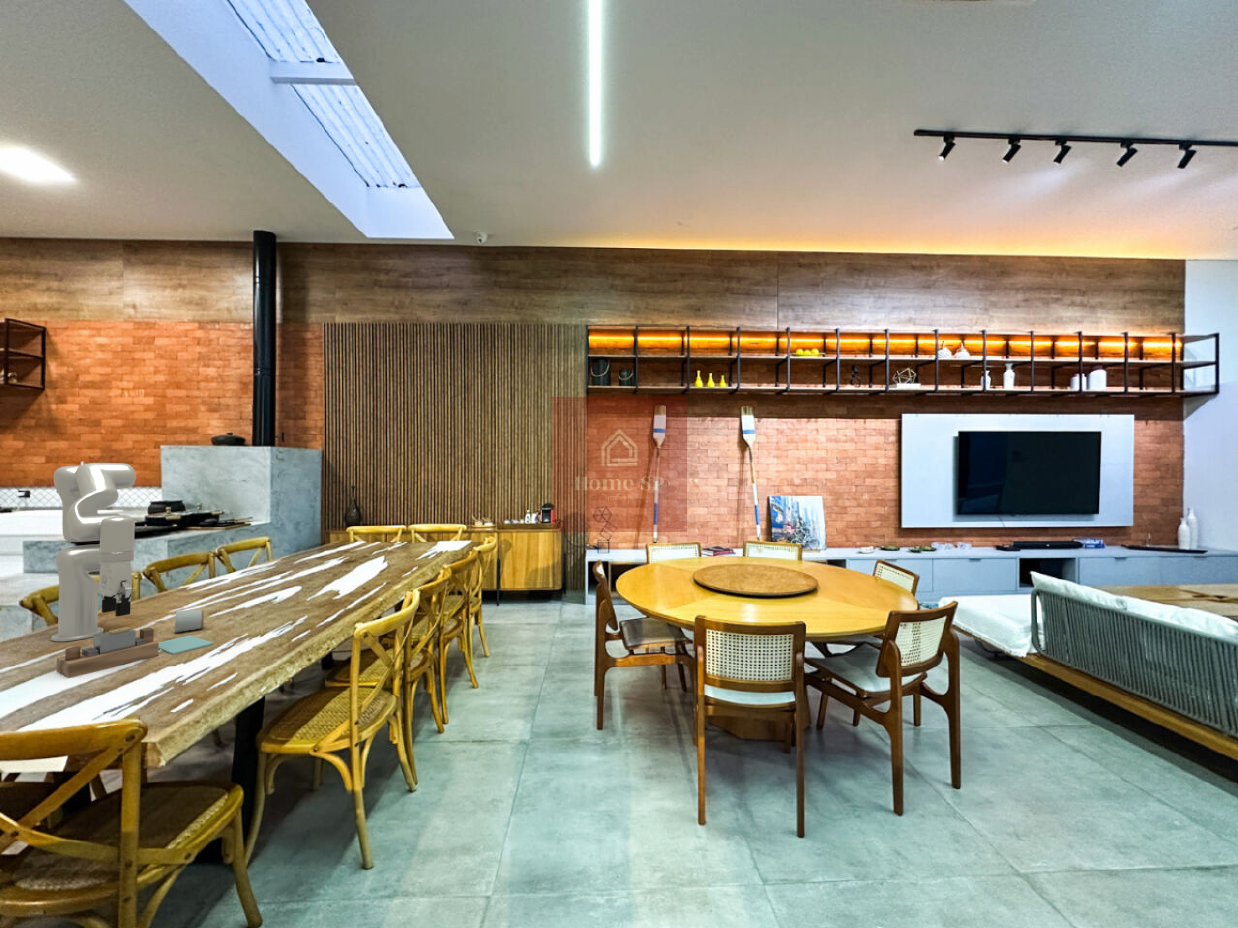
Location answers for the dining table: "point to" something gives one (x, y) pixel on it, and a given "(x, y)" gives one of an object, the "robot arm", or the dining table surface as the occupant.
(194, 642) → the mat
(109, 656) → the plane body
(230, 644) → the dining table surface
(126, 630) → the lever cap
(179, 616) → the ceramic mug
